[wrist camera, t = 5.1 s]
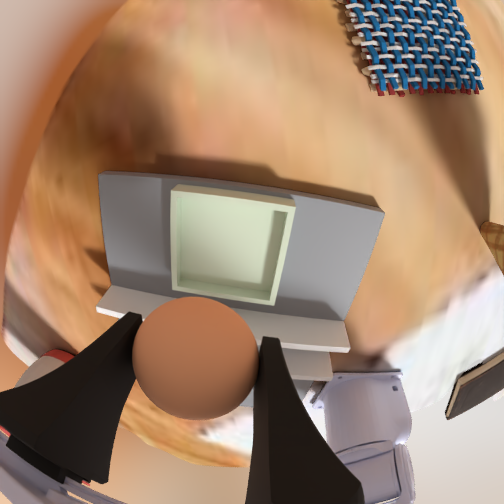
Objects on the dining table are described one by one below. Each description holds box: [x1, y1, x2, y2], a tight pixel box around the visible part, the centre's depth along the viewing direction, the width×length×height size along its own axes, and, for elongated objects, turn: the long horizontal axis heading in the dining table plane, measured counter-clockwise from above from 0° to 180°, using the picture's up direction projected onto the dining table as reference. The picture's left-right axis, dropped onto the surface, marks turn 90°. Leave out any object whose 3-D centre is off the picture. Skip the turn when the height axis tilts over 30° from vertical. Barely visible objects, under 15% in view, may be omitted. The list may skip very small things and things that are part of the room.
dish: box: [170, 184, 296, 306], centre depth 18 cm, size 7×7×1 cm
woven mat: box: [336, 0, 484, 97], centre depth 10 cm, size 10×11×2 cm
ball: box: [132, 297, 259, 420], centre depth 10 cm, size 5×5×5 cm
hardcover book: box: [445, 352, 504, 420], centre depth 28 cm, size 16×23×2 cm
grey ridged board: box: [96, 171, 385, 407], centre depth 22 cm, size 20×26×4 cm
